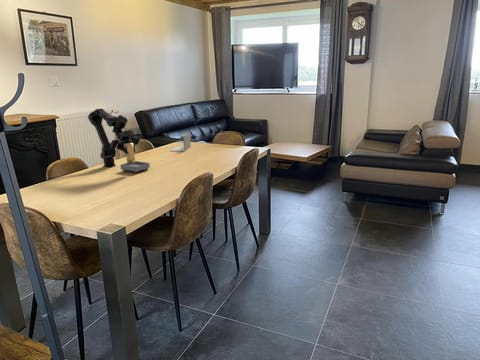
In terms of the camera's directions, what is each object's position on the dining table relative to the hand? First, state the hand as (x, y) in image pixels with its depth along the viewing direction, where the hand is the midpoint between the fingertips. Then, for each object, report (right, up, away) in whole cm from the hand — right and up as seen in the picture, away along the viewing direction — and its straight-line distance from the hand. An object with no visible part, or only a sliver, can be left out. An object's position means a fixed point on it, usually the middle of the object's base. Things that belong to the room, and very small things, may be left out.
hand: (131, 152), depth 226 cm
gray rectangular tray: (-1, -11, +12) cm, 16 cm away
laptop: (+18, +8, +76) cm, 79 cm away
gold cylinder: (-1, -6, +3) cm, 7 cm away
